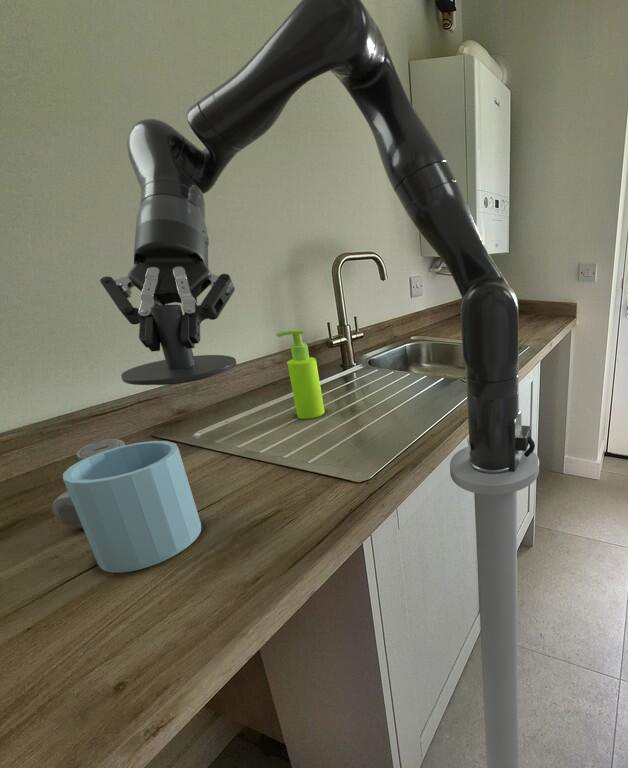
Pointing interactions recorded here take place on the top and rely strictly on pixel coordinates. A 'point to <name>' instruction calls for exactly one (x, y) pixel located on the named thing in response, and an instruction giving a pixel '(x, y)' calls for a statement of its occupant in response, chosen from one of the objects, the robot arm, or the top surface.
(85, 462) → the light blue cup
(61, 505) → the pipe fitting
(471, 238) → the robot arm
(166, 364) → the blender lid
